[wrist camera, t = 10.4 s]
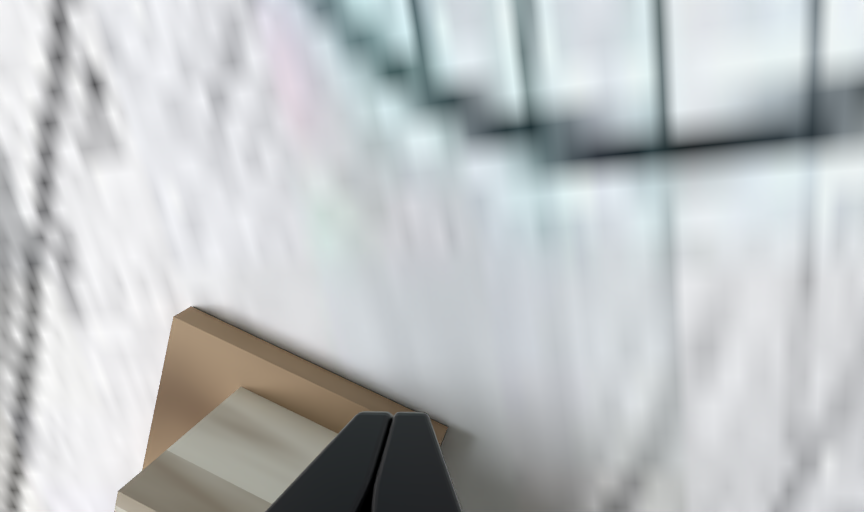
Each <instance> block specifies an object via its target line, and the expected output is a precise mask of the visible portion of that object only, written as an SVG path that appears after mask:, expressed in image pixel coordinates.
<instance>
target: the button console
mask: <svg viewBox="0 0 864 512" xmlns="http://www.w3.org/2000/svg"><path fill="white" fill-rule="evenodd" d="M363 411H383V412H390V413H391V414H392V415H393V416H394V415H395V414H396V413H397V412H415V411H413V410H411V409H409V408H406V407H404V406H402V405H400V404H398V403H396V402H394V401H391V400H389V399H387V398H385V397H383V396H381V395H379V394H377V393H374V392H372V391H370V390H368V389H366V388H364V387H362V386H360V385H357V384H355V383H353V382H351V381H349V380H347V379H345V378H343V377H340V376H338V375H336V374H334V373H332V372H330V371H328V370H325V369H323V368H321V367H319V366H317V365H315V364H313V363H311V362H308V361H306V360H304V359H302V358H300V357H298V356H296V355H294V354H291V353H289V352H287V351H285V350H283V349H281V348H279V347H277V346H274V345H272V344H270V343H268V342H266V341H264V340H262V339H260V338H257V337H255V336H253V335H251V334H249V333H247V332H245V331H242V330H240V329H238V328H236V327H234V326H232V325H230V324H228V323H225V322H223V321H221V320H219V319H217V318H215V317H213V316H211V315H208V314H206V313H204V312H202V311H200V310H198V309H196V308H194V307H189V308H187V309H186V310H184V311H182V312H181V313H179V314H177V315H175V316H174V317H173V321H172V326H171V331H170V336H169V341H168V346H167V351H166V356H165V361H164V366H163V371H162V376H161V381H160V385H159V390H158V395H157V400H156V405H155V410H154V415H153V420H152V425H151V430H150V435H149V440H148V445H147V449H146V454H145V459H144V464H143V469H142V471H141V472H140V473H139V474H138V475H136V476H135V477H134V478H133V479H132V480H131V481H129V482H128V483H127V484H126V485H125V486H124V487H122V488H121V489H120V490H119V491H118V494H117V500H116V505H115V510H114V512H265V511H266V510H267V509H268V508H269V507H270V506H271V504H272V503H273V502H274V501H275V500H276V499H277V498H278V497H279V496H280V495H281V494H282V493H283V492H284V491H285V490H286V489H287V487H288V486H289V485H290V484H291V483H292V482H293V481H294V480H295V479H296V478H297V477H298V476H299V475H300V474H301V473H302V472H303V470H304V469H305V468H306V467H307V466H308V465H309V464H310V463H311V462H312V461H313V460H314V459H315V458H316V457H317V456H318V455H319V453H320V452H321V451H322V450H323V449H324V448H325V447H326V446H327V445H328V444H329V443H330V442H331V441H332V440H333V439H334V438H335V436H336V435H337V434H338V433H339V432H340V431H341V430H342V429H343V428H344V427H345V426H346V425H347V424H348V423H349V422H350V421H351V419H352V418H353V417H354V416H355V415H356V414H358V413H360V412H363ZM430 420H431V423H432V426H433V429H434V432H435V434H436V437H437V440H438V443H439V446H441V443H442V441H443V438H444V436H445V433H446V431H447V429H448V427H447V426H445V425H443V424H440V423H438V422H436V421H434V420H432V419H430Z"/></svg>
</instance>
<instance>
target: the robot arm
mask: <svg viewBox="0 0 864 512" xmlns="http://www.w3.org/2000/svg"><path fill="white" fill-rule="evenodd" d="M265 512H462V509H461V506H460V503H459V500H458V497H457V494H456V492H455V489H454V486H453V483H452V480H451V477H450V474H449V472H448V469H447V466H446V463H445V460H444V457H443V454H442V452H441V449H440V446H439V443H438V440H437V437H436V434H435V432H434V429H433V426H432V423H431V420H430V417H429V415H428V414H427V413H425V412H397V413H396V414H395V415H394V416H393V415H392V414H391V413H390V412H383V411H363V412H360V413H358V414H356V415H355V416H354V417H353V418H352V419H351V421H350V422H349V423H348V424H347V425H346V426H345V427H344V428H343V429H342V430H341V431H340V432H339V433H338V434H337V435H336V436H335V438H334V439H333V440H332V441H331V442H330V443H329V444H328V445H327V446H326V447H325V448H324V449H323V450H322V451H321V452H320V453H319V455H318V456H317V457H316V458H315V459H314V460H313V461H312V462H311V463H310V464H309V465H308V466H307V467H306V468H305V469H304V470H303V472H302V473H301V474H300V475H299V476H298V477H297V478H296V479H295V480H294V481H293V482H292V483H291V484H290V485H289V486H288V487H287V489H286V490H285V491H284V492H283V493H282V494H281V495H280V496H279V497H278V498H277V499H276V500H275V501H274V502H273V503H272V504H271V506H270V507H269V508H268V509H267V510H266V511H265Z"/></svg>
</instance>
